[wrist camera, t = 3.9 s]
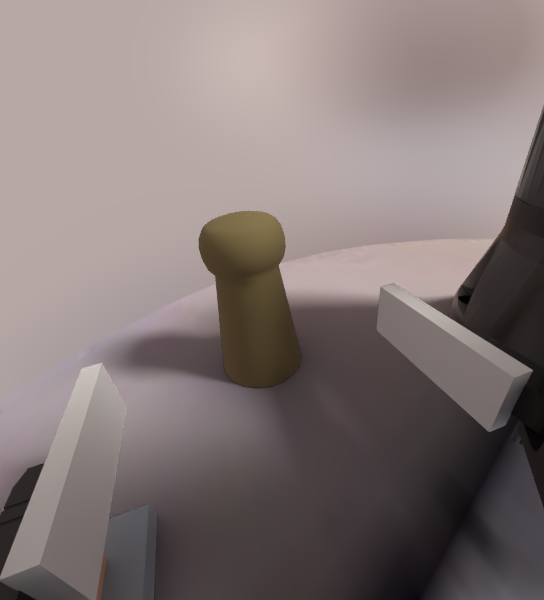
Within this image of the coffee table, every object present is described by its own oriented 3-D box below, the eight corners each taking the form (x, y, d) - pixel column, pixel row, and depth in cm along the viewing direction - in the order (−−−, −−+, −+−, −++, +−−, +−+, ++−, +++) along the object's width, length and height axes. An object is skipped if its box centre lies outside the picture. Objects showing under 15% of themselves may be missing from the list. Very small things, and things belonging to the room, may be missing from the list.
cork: (213, 352, 23) (174, 218, 18) (276, 325, 25) (259, 198, 20) (243, 402, 19) (203, 241, 13) (317, 363, 21) (311, 212, 15)
